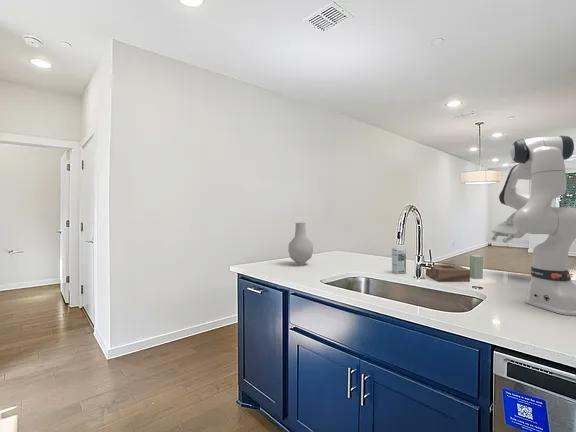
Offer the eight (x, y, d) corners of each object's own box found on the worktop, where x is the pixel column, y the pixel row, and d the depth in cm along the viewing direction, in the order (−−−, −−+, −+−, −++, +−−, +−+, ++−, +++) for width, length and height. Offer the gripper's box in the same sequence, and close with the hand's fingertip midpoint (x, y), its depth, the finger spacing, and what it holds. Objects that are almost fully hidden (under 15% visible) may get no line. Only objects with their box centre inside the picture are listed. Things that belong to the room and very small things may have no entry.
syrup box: (397, 274, 190) (397, 249, 189) (391, 272, 195) (391, 247, 195) (406, 273, 191) (406, 248, 190) (399, 271, 197) (400, 247, 196)
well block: (469, 281, 171) (470, 269, 170) (439, 281, 170) (439, 270, 170) (453, 274, 187) (453, 264, 186) (425, 275, 186) (425, 264, 186)
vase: (283, 264, 222) (283, 223, 221) (300, 261, 233) (300, 221, 232) (300, 268, 209) (300, 224, 208) (318, 264, 220) (317, 222, 219)
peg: (482, 278, 177) (482, 256, 176) (474, 278, 177) (474, 256, 176) (477, 276, 181) (477, 255, 181) (469, 276, 181) (469, 255, 181)
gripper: (499, 217, 188) (482, 234, 188) (526, 219, 168) (506, 238, 168) (507, 225, 189) (490, 242, 189) (534, 228, 168) (515, 247, 168)
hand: (498, 240), depth 178 cm, fingers open, 8 cm apart
